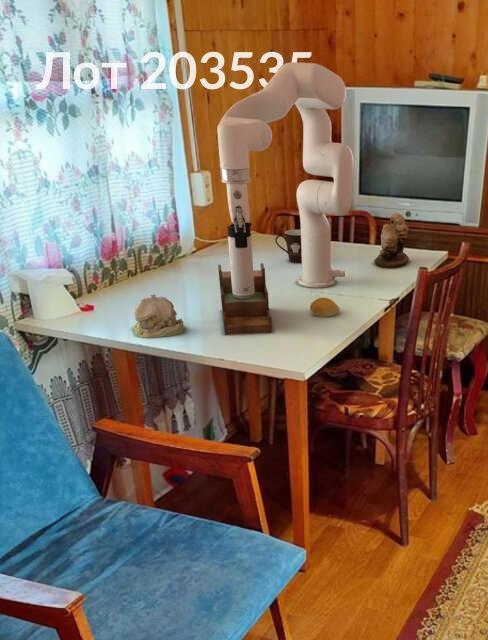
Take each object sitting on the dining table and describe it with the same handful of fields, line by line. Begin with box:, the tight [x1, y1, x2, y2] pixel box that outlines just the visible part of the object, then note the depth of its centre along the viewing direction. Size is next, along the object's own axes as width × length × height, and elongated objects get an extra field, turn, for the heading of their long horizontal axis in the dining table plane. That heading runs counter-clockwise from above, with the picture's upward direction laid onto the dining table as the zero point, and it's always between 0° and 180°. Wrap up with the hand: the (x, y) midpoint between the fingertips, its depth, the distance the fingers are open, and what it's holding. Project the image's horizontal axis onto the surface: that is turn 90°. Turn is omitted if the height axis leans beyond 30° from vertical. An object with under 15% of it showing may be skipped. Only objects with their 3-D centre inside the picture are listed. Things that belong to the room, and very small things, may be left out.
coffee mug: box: [274, 229, 302, 264], centre depth 267 cm, size 12×9×10 cm
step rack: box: [217, 262, 273, 336], centre depth 210 cm, size 13×21×14 cm, turn 11°
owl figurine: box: [374, 212, 410, 269], centre depth 266 cm, size 18×12×17 cm, turn 163°
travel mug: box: [227, 222, 255, 300], centre depth 205 cm, size 6×7×20 cm
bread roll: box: [309, 297, 340, 318], centre depth 220 cm, size 8×9×4 cm
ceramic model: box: [132, 294, 185, 339], centre depth 203 cm, size 14×11×10 cm
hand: (240, 243), depth 202 cm, fingers open, 9 cm apart
